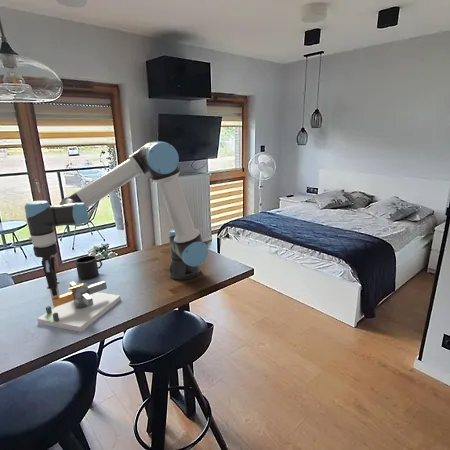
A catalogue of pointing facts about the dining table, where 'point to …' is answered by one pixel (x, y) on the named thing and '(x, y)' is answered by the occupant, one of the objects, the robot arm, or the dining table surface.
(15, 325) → the dining table surface
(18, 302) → the dining table surface
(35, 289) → the dining table surface
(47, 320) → the stand plate
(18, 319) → the dining table surface
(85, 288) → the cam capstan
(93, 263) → the mug
